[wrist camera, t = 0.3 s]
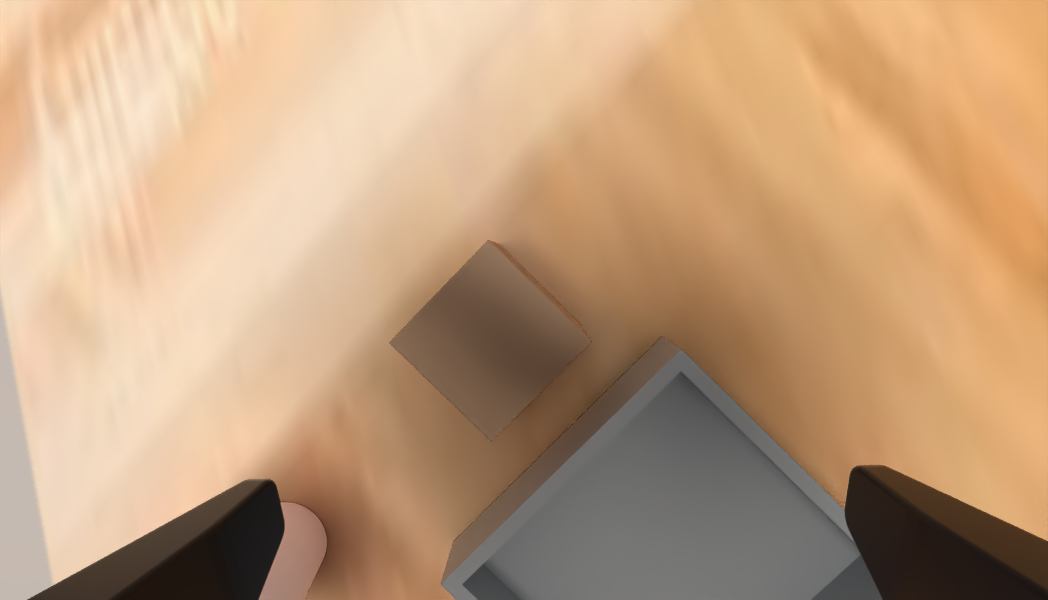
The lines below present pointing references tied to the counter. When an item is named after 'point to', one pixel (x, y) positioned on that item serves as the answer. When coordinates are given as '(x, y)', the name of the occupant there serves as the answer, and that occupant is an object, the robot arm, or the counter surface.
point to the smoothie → (296, 555)
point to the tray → (661, 507)
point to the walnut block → (491, 339)
